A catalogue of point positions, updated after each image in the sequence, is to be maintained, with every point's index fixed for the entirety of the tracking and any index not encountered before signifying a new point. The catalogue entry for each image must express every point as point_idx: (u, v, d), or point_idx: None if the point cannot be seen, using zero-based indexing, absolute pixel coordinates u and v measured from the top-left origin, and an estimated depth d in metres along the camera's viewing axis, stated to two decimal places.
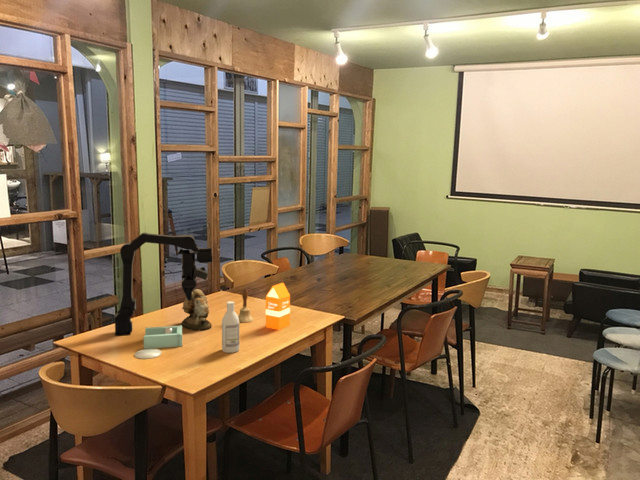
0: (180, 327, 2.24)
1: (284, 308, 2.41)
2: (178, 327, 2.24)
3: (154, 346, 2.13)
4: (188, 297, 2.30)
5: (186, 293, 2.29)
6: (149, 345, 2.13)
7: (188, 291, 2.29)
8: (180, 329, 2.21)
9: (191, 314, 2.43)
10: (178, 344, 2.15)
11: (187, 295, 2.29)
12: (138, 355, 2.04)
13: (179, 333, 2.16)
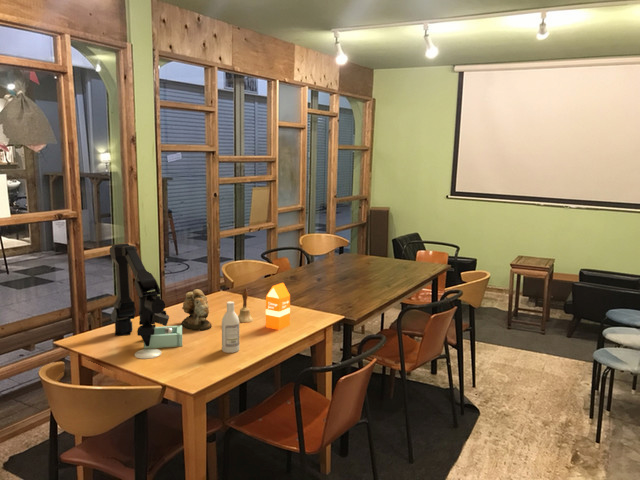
0: (180, 327, 2.24)
1: (284, 308, 2.41)
2: (178, 327, 2.24)
3: (154, 346, 2.13)
4: (146, 343, 2.11)
5: (144, 338, 2.10)
6: (149, 345, 2.13)
7: (146, 336, 2.10)
8: (180, 329, 2.21)
9: (191, 314, 2.43)
10: (178, 344, 2.15)
11: (145, 340, 2.11)
12: (138, 355, 2.04)
13: (179, 333, 2.16)
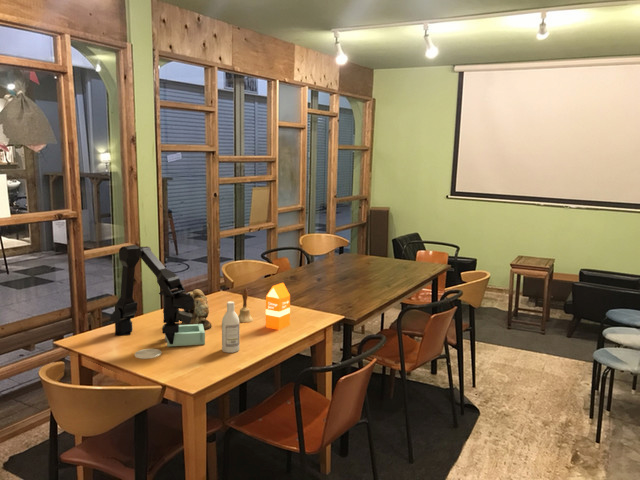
0: (201, 325, 2.26)
1: (284, 308, 2.41)
2: (199, 325, 2.26)
3: (177, 344, 2.15)
4: (170, 341, 2.13)
5: (168, 337, 2.12)
6: None
7: (170, 334, 2.12)
8: (202, 327, 2.24)
9: None
10: (201, 342, 2.18)
11: (169, 338, 2.13)
12: (138, 355, 2.04)
13: (202, 331, 2.19)
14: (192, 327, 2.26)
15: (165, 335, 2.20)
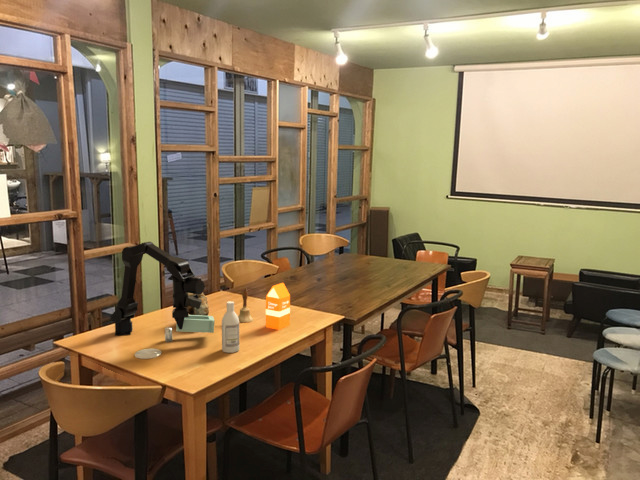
0: (211, 316, 2.27)
1: (284, 308, 2.41)
2: (209, 316, 2.27)
3: (186, 330, 2.15)
4: (179, 326, 2.13)
5: (177, 322, 2.12)
6: (182, 328, 2.15)
7: (179, 319, 2.12)
8: (211, 317, 2.24)
9: (191, 314, 2.43)
10: (210, 330, 2.18)
11: (178, 323, 2.13)
12: (138, 355, 2.04)
13: (211, 319, 2.19)
14: (201, 318, 2.26)
15: (165, 335, 2.20)
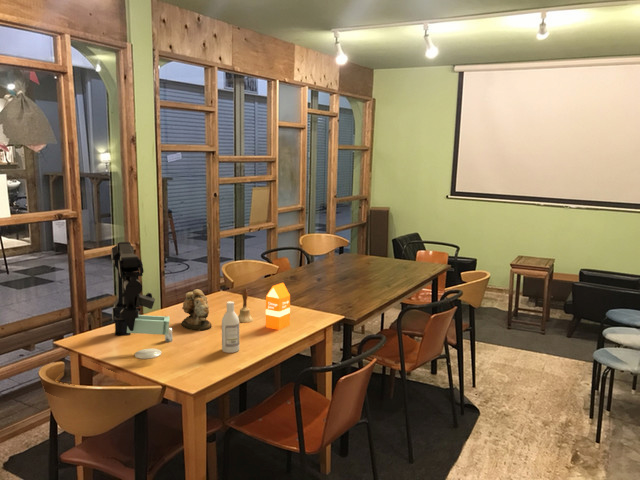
0: (168, 317, 2.10)
1: (284, 308, 2.41)
2: (165, 317, 2.10)
3: (138, 331, 1.98)
4: (130, 327, 1.97)
5: (127, 323, 1.96)
6: (133, 329, 1.98)
7: (130, 320, 1.96)
8: (167, 318, 2.07)
9: (191, 314, 2.43)
10: (164, 332, 2.01)
11: (129, 324, 1.96)
12: (138, 355, 2.04)
13: (166, 320, 2.02)
14: (157, 319, 2.10)
15: (165, 335, 2.20)
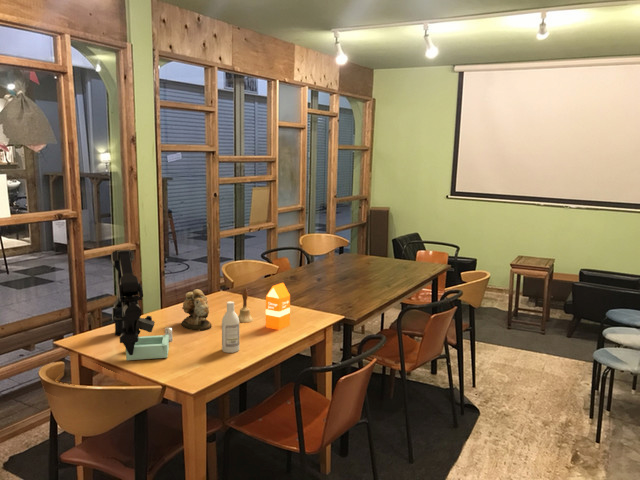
0: (166, 337, 2.10)
1: (284, 308, 2.41)
2: (164, 337, 2.10)
3: (137, 357, 2.00)
4: (130, 351, 1.97)
5: (127, 347, 1.96)
6: (132, 356, 1.99)
7: (129, 345, 1.96)
8: (166, 339, 2.08)
9: (191, 314, 2.43)
10: (163, 355, 2.02)
11: (128, 349, 1.96)
12: None
13: (164, 344, 2.03)
14: (156, 339, 2.10)
15: None
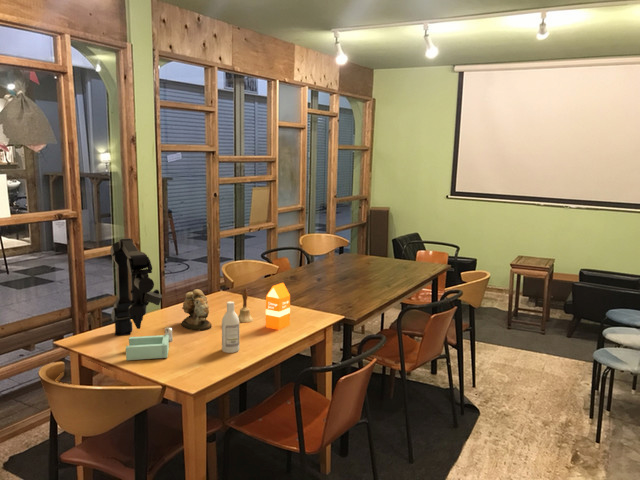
0: (166, 337, 2.10)
1: (284, 308, 2.41)
2: (164, 337, 2.10)
3: (137, 357, 2.00)
4: (137, 325, 2.01)
5: (135, 321, 2.00)
6: (132, 356, 1.99)
7: (137, 318, 2.00)
8: (166, 339, 2.08)
9: (191, 314, 2.43)
10: (163, 355, 2.02)
11: (136, 323, 2.00)
12: None
13: (164, 344, 2.03)
14: (156, 339, 2.10)
15: None
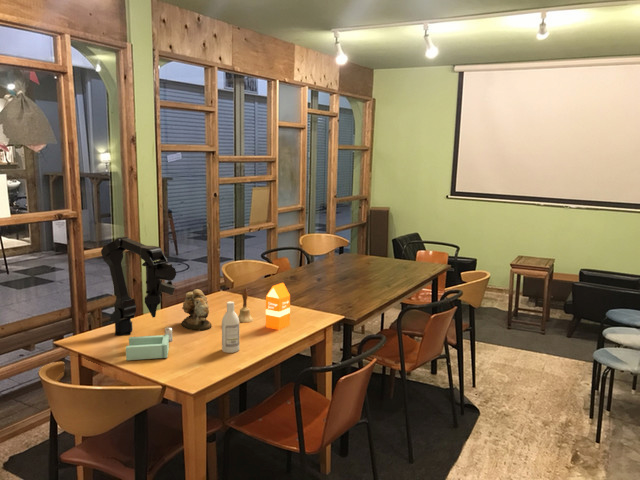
0: (166, 337, 2.10)
1: (284, 308, 2.41)
2: (164, 337, 2.10)
3: (137, 357, 2.00)
4: (152, 314, 2.13)
5: (150, 310, 2.12)
6: (132, 356, 1.99)
7: (152, 307, 2.12)
8: (166, 339, 2.08)
9: (191, 314, 2.43)
10: (163, 355, 2.02)
11: (151, 311, 2.13)
12: None
13: (164, 344, 2.03)
14: (156, 339, 2.10)
15: None
